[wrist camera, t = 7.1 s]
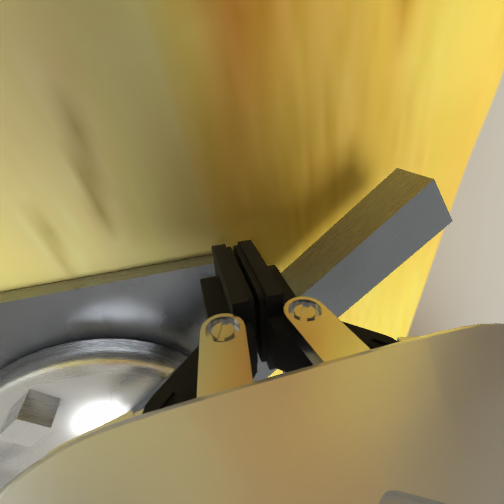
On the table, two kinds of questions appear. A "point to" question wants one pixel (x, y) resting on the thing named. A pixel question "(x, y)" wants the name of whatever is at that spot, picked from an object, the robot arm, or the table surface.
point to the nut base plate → (108, 309)
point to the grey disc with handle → (167, 360)
